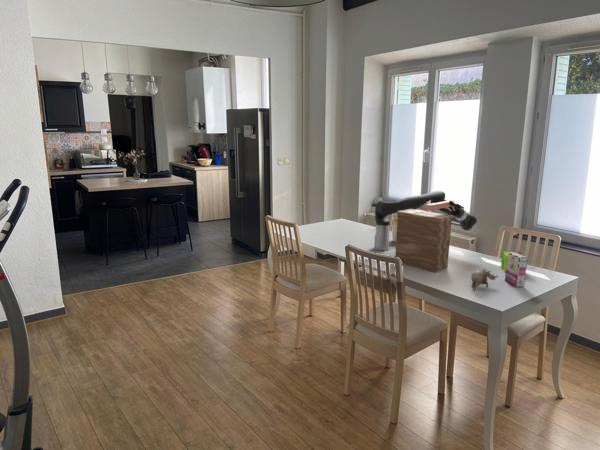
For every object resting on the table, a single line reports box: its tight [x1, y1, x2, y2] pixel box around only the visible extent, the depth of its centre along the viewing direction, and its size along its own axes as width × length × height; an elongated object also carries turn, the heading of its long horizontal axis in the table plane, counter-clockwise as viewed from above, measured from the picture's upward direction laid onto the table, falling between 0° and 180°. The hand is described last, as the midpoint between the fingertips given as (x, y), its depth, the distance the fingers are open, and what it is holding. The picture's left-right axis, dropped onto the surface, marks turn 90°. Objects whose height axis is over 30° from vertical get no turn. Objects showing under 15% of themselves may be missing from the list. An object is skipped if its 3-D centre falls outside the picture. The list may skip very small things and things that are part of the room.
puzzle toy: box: [500, 251, 525, 273], centre depth 260 cm, size 10×10×10 cm
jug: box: [390, 216, 398, 243], centre depth 324 cm, size 15×16×25 cm
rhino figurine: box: [470, 268, 499, 292], centre depth 231 cm, size 8×14×15 cm
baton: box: [425, 200, 455, 212], centre depth 260 cm, size 26×3×3 cm, turn 132°
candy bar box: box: [504, 251, 529, 288], centre depth 236 cm, size 11×5×16 cm, turn 5°
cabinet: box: [394, 209, 454, 273], centre depth 266 cm, size 15×29×32 cm, turn 42°
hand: (447, 201), depth 264 cm, fingers closed on baton, 3 cm apart
